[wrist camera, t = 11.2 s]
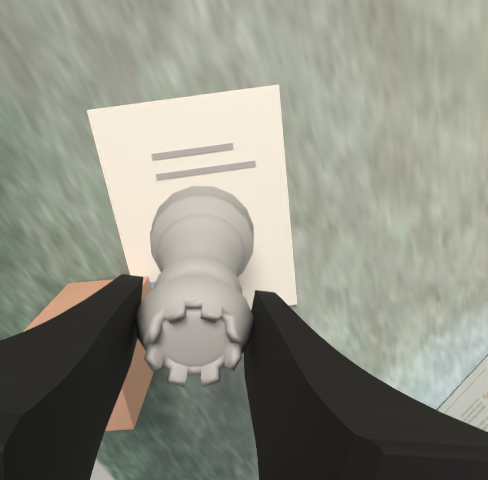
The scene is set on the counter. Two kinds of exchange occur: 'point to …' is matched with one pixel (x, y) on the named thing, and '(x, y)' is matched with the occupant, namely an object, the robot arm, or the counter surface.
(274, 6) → the counter surface
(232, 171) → the letter
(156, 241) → the rook chess piece
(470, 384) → the small box
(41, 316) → the block
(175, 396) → the counter surface
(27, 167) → the counter surface
